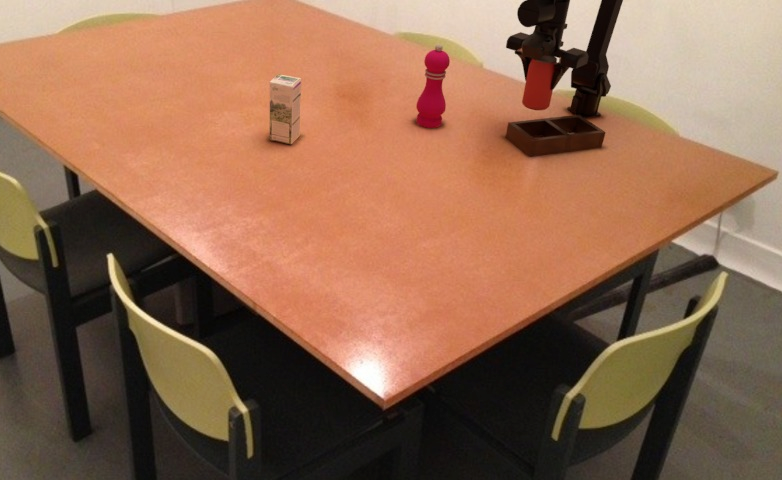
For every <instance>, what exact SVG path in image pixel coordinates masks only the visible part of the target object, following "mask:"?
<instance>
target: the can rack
mask: <svg viewBox="0 0 782 480" xmlns="http://www.w3.org/2000/svg"><path fill="white" fill-rule="evenodd" d="M606 133H607V132H606V131H605V130H603V129H601V128H600V127H598V126H597V125H596V124H594V123H593V122H591V121H590V120H588V119H586V118H583V117H582V116H580V115H575V114H572V115H563V116H554V117H553V116H552V117H546V118H545V117H544V118H537V119H528V120H518V121H508V122H507V128H506V131H505V139H507V140H508V141H509V142H510V143H511V144H513V145H514V146H515V147H517V148H518V149H519V150H520V151H522V152H523V153H524V154H525V155H527V156H528V157H536V156H544V155H552V154H559V153H560V154H561V153H567V152H576V151H583V150H590V149H599V148H602V147H603V144H604V141H605V136H606ZM540 136H542V137H540ZM535 137H536V138H535Z"/></svg>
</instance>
